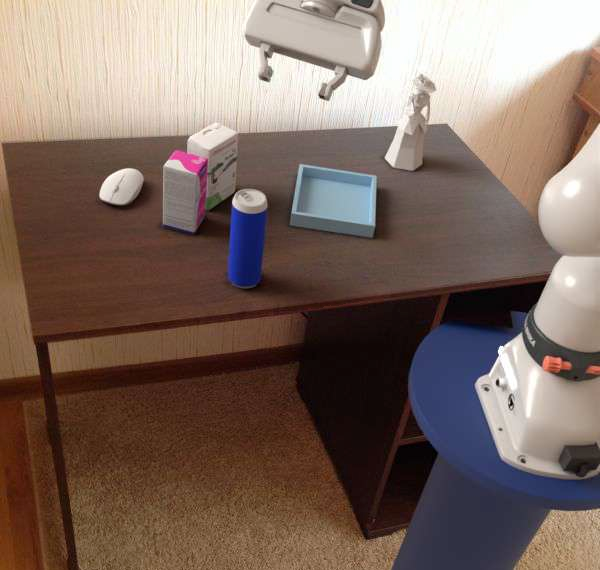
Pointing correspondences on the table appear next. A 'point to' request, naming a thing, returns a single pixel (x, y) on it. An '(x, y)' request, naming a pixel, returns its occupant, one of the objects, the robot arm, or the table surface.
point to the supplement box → (184, 191)
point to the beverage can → (247, 237)
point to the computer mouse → (121, 187)
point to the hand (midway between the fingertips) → (293, 88)
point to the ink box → (217, 160)
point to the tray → (334, 201)
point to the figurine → (412, 128)
